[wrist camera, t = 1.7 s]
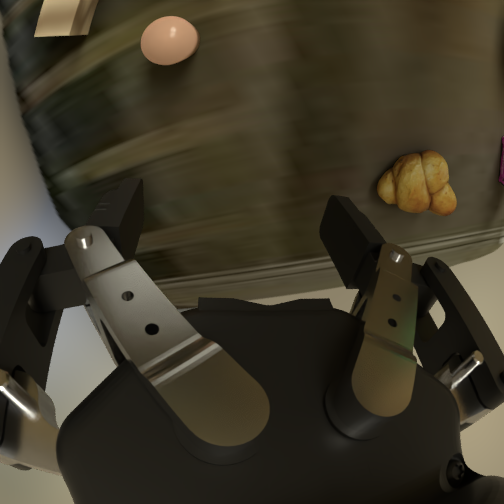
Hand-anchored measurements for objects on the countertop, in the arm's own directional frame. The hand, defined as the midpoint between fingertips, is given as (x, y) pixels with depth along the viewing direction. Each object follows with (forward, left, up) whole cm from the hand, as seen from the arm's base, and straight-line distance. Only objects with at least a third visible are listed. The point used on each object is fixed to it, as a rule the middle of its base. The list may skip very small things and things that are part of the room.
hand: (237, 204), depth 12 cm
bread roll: (0, +30, -25) cm, 38 cm away
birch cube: (-7, -21, -24) cm, 33 cm away
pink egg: (-5, -7, -24) cm, 26 cm away
